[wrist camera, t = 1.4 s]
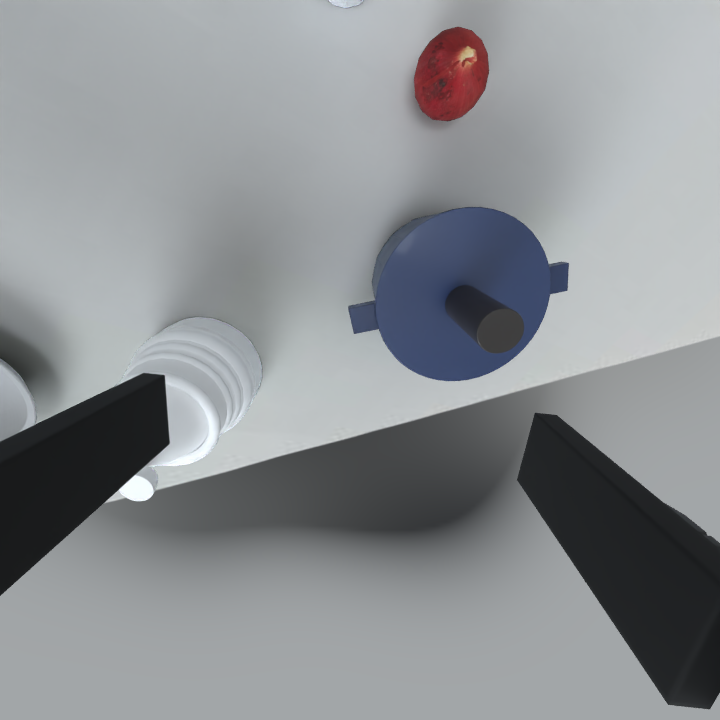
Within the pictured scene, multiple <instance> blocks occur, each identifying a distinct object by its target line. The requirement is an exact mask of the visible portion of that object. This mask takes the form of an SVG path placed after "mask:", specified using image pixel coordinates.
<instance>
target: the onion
mask: <svg viewBox="0 0 720 720" xmlns="http://www.w3.org/2000/svg"><path fill="white" fill-rule="evenodd" d="M488 74H489V65H488V54H487V51H486V49H485V46H484V44H483V42H482V40H481V39H480V38H479V37H478V36H477V35H476V34H475V33H474V32H473V31H472V30H468V29H465V28H461V27H455V28H451V29H447V30H444V31H442V32H441V33H440V34H438V35H437V36H436V37H435V38H434V39H432V40H431V41H430V42H429V44H428V45H427V46H426V48H425V50H424V51H423V53H422V54H421V56H420V57H419V60H418V64H417V68H416V72H415V77H414V86H415V98H416V100H417V102H418V104H419V106H420V108H421V110H422V112H424V113H425V114H426V115H428V116H429V117H430V118H432V119H433V120H441V121H451V120H454V119H457V118H460V117H462V116H463V115H464V114H466V113H467V112H468V111H469V110H470V109H472V108H473V107H474V105H475V104H476V103H477V101H478V100H479V98H480V96H481V95H482V93H483V92H484V90H485V87H486V83H487V78H488Z"/></svg>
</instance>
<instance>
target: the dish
mask: <svg viewBox="0 0 720 720" xmlns="http://www.w3.org/2000/svg"><path fill="white" fill-rule="evenodd" d="M36 419H37V410H36V405H35V402H34V399H33V397H32V395H31V393H30V391H29V390H28V387H27V385H26V384H25V382H24V380H23V379H22V378H21V376H20V375H19V374H18V373H17V372H16V371H15V370H14V369H13V368H12V367H11V366H10V365H9V364H7V363H6V362H5V361H3V360H2V359H0V441H2V440H4V439H6V438H8V437H11V436H13V435H15V434H17V433H19V432H21V431H23V430H25V429H27V428H29V427H31V426H34V425H35V423H36Z"/></svg>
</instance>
